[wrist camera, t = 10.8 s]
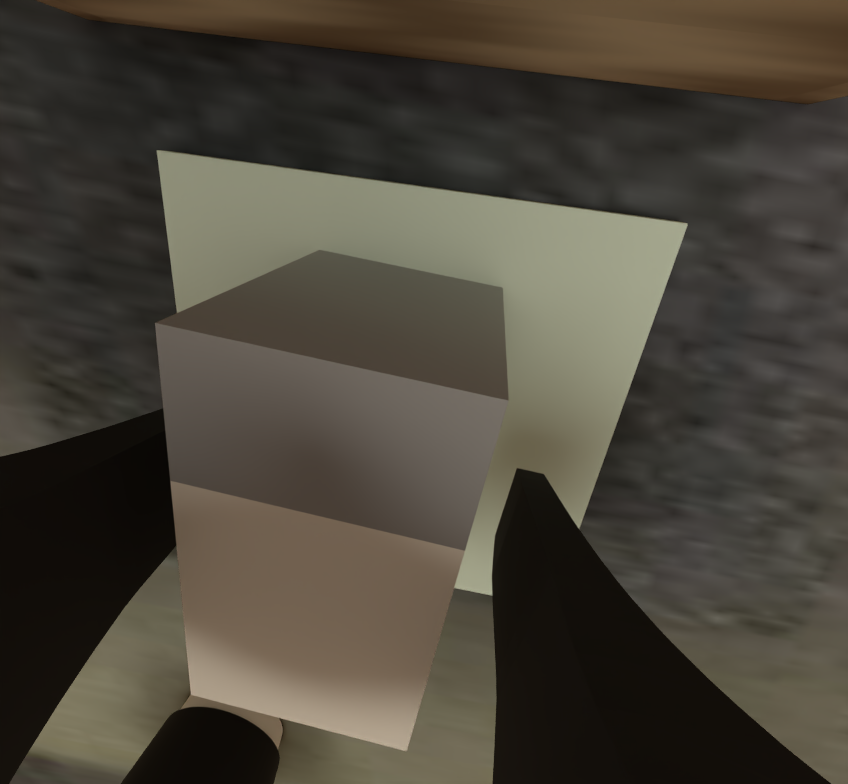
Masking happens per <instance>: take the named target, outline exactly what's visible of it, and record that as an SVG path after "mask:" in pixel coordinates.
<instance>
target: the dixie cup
mask: <svg viewBox="0 0 848 784" xmlns="http://www.w3.org/2000/svg"><path fill="white" fill-rule="evenodd" d="M282 733H283V727H282V724H281V721H280V719H279V718H278V717H274V716H270V715H266V714H262V713H259V712H255V711H251V710H247V709H243V708H240V707H236V706H232V705H228V704H224V703H220V702H217V701H213V700H209V699H205V698H201V697H198V696H194V695H190V696H189V698H188V699H187V700H186V702H185V703H184V705H183V706H182V707H181V709H180V710H178V711H176V712H174V713H173V714H172V715H170V716H169V718H168V719H167V720H166V722H165V723H164V725H163V726H162V727H161V729H160V730H159V731H158V733H157V734H156V736H155V737H154V738H153V740H152V741H151V743H150V744H149V745H148V747H147V748H146V749H145V751H144V752H143V754H142V755H141V756H140V758H139V759H138V761H137V762H136V763H135V765H134V766H133V768H132V769H131V770H130V772H129V773H128V774H127V776H126V777H125V779H124V780H123V781H122V783H121V784H273V783H274V780H275V776H276V772H277V769H278V765H279V759H280V757H279V752H278V748H279V744H280V741H281V737H282Z"/></svg>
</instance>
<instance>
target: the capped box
mask: <svg viewBox="0 0 848 784" xmlns="http://www.w3.org/2000/svg"><path fill="white" fill-rule="evenodd" d="M155 328H156V339H157V349H158V359H159V370H160V380H161V390H162V401H163V411H164V421H165V432H166V442H167V452H168V463H169V473H170V483H171V493H172V504H173V514H174V524H175V535H176V545H177V555H178V566H179V576H180V586H181V597H182V607H183V617H184V627H185V638H186V648H187V658H188V669H189V679H190V689H191V695H194V696H198V697H201V698H205V699H209V700H213V701H217V702H220V703H224V704H228V705H232V706H236V707H240V708H243V709H247V710H251V711H255V712H259V713H262V714H266V715H270V716H274V717H278V718H282V719H285V720H289V721H293V722H297V723H301V724H305V725H308V726H312V727H316V728H320V729H324V730H327V731H331V732H335V733H339V734H343V735H347V736H350V737H354V738H358V739H362V740H366V741H370V742H373V743H377V744H381V745H385V746H389V747H392V748H396V749H400V750H404V751H407V748H408V745H409V741H410V738H411V734H412V731H413V727H414V724H415V720H416V717H417V714H418V710H419V707H420V703H421V700H422V696H423V693H424V690H425V686H426V683H427V679H428V676H429V672H430V669H431V666H432V662H433V659H434V655H435V652H436V648H437V645H438V642H439V638H440V635H441V631H442V628H443V624H444V621H445V618H446V614H447V611H448V607H449V604H450V600H451V597H452V593H453V590H454V587H455V583H456V580H457V576H458V573H459V569H460V566H461V563H462V559H463V556H464V552H465V549H466V545H467V542H468V539H469V535H470V532H471V528H472V525H473V521H474V518H475V515H476V511H477V508H478V504H479V501H480V497H481V494H482V491H483V487H484V484H485V480H486V477H487V473H488V470H489V467H490V463H491V460H492V456H493V453H494V449H495V446H496V442H497V439H498V436H499V432H500V429H501V425H502V422H503V418H504V415H505V412H506V408H507V405H508V401H509V397H508V378H507V359H506V340H505V321H504V302H503V288H502V287H497V286H492V285H487V284H483V283H478V282H473V281H468V280H463V279H458V278H454V277H449V276H444V275H439V274H434V273H430V272H425V271H420V270H415V269H410V268H405V267H401V266H396V265H391V264H386V263H381V262H376V261H372V260H367V259H362V258H357V257H352V256H348V255H343V254H338V253H333V252H328V251H323V250H318V251H315V252H313V253H311V254H309V255H306V256H304V257H302V258H300V259H297V260H295V261H293V262H291V263H288V264H286V265H284V266H282V267H279V268H277V269H275V270H273V271H270V272H268V273H266V274H264V275H262V276H259V277H257V278H255V279H253V280H250V281H248V282H246V283H244V284H241V285H239V286H237V287H235V288H232V289H230V290H228V291H226V292H223V293H221V294H219V295H217V296H214V297H212V298H210V299H208V300H205V301H203V302H201V303H199V304H196V305H194V306H192V307H190V308H187V309H185V310H183V311H181V312H178V313H176V314H174V315H172V316H169V317H167V318H165V319H163V320H160V321H158V322H156V323H155Z"/></svg>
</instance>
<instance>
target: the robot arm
mask: <svg viewBox="0 0 848 784" xmlns="http://www.w3.org/2000/svg"><path fill="white" fill-rule="evenodd" d="M175 546H176V535H175V524H174V514H173V504H172V493H171V483H170V473H169V463H168V452H167V442H166V432H165V421H164V411H163V409H160V410H157V411H154V412H151V413H148V414H145V415H142V416H139V417H136V418H133V419H130V420H127V421H124V422H121V423H118V424H115V425H112V426H109V427H106V428H103V429H100V430H96V431H93V432H90V433H86V434H83V435H80V436H76V437H73V438H70V439H66V440H63V441H60V442H56V443H53V444H50V445H46V446H42V447H38V448H35V449H31V450H27V451H23V452H19V453H15V454H10V455H6V456H2V457H0V784H9V783H10V781H11V779H12V778H13V776H14V774H15V773H16V771H17V769H18V768H19V766H20V764H21V763H22V761H23V759H24V758H25V756H26V755H27V753H28V752H29V750H30V748H31V747H32V745H33V744H34V742H35V740H36V739H37V737H38V736H39V734H40V732H41V731H42V729H43V728H44V726H45V724H46V723H47V721H48V720H49V718H50V716H51V715H52V713H53V712H54V710H55V709H56V707H57V705H58V704H59V702H60V701H61V699H62V698H63V696H64V695H65V693H66V692H67V690H68V689H69V687H70V686H71V684H72V683H73V681H74V680H75V678H76V677H77V675H78V674H79V672H80V671H81V669H82V668H83V666H84V665H85V663H86V662H87V660H88V659H89V657H90V656H91V654H92V653H93V651H94V650H95V648H96V647H97V646H98V644H99V643H100V641H101V640H102V638H103V637H104V636H105V634H106V633H107V631H108V630H109V628H110V627H111V626H112V624H113V623H114V621H115V620H116V619H117V617H118V616H119V614H120V613H121V611H122V610H123V609H124V607H125V606H126V605H127V604H128V602H129V601H130V600H131V598H132V597H133V596H134V595H135V593H136V592H137V591H138V590H139V588H140V587H141V586H142V585H143V584H144V583H145V581H146V580H147V579H148V578H149V577H150V576H151V574H152V573H153V572H154V571H155V570H156V569H157V567H158V566H159V565H160V564H161V563H162V562H163V560H164V559H165V558H166V557H167V556H168V555H169V553H170V552H171V551H172V550H173V549H174V548H175ZM492 596H493V618H494V639H495V660H496V694H497V704H496V726H495V749H494V768H493V784H831V783H829V782H828V781H827V780H826V779H824V778H823V777H822V776H821V775H819V774H818V773H817V772H816V771H814V770H813V769H812V768H811V767H809V766H808V765H807V764H806V763H804V762H803V761H802V760H800V759H799V758H798V757H797V756H795V755H794V754H793V753H792V752H791V751H789V750H788V749H787V748H786V747H785V746H783V745H782V744H781V743H780V742H779V741H778V740H776V739H775V738H774V737H773V736H772V735H771V734H769V733H768V732H767V731H766V730H765V729H764V728H763V727H761V726H760V725H759V724H758V723H757V722H756V721H754V720H753V719H752V718H751V717H750V716H749V715H748V714H746V713H745V712H744V711H743V710H742V709H741V708H740V707H738V706H737V705H736V704H735V703H734V702H733V701H732V700H731V699H730V698H729V697H728V696H726V695H725V694H724V693H723V692H722V691H721V690H720V689H719V688H718V687H717V686H716V685H714V684H713V683H712V682H711V681H710V680H709V679H708V678H707V677H706V676H705V675H704V674H703V673H702V672H701V671H700V670H699V669H698V668H697V667H696V666H695V665H694V664H693V663H692V662H691V661H690V660H689V659H688V658H687V657H686V656H685V655H684V654H683V653H682V652H681V651H680V650H679V649H678V648H677V647H676V646H675V645H674V644H673V643H672V642H671V641H670V640H669V639H668V638H667V637H666V636H665V635H664V634H663V633H662V632H661V631H660V630H659V629H658V628H657V626H656V625H655V624H654V623H653V622H652V621H651V620H650V619H649V617H648V616H647V615H646V614H645V613H644V612H643V611H642V610H641V609H640V607H639V606H638V605H637V604H636V603H635V602H634V601H633V600H632V598H631V597H630V596H629V595H628V594H627V592H626V591H625V590H624V589H623V588H622V586H621V585H620V584H619V583H618V581H617V580H616V579H615V577H614V576H613V575H612V574H611V572H610V571H609V570H608V568H607V567H606V566H605V565H604V563H603V562H602V561H601V559H600V558H599V557H598V555H597V554H596V553H595V551H594V550H593V548H592V547H591V546H590V544H589V543H588V541H587V540H586V539H585V537H584V536H583V534H582V533H581V531H580V530H579V528H578V527H577V525H576V524H575V522H574V521H573V519H572V518H571V516H570V515H569V513H568V512H567V510H566V508H565V507H564V505H563V504H562V502H561V500H560V499H559V497H558V496H557V494H556V492H555V491H554V489H553V488H552V486H551V484H550V483H549V481H548V480H547V478H546V477H545V475H544V474H542V473H537V472H533V471H528V470H524V469H520V468H517V469H516V472H515V475H514V478H513V481H512V484H511V488H510V491H509V494H508V497H507V500H506V503H505V506H504V509H503V512H502V515H501V518H500V521H499V524H498V528H497V531H496V534H495V540H494V552H493V566H492Z"/></svg>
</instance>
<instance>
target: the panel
mask: <svg viewBox="0 0 848 784" xmlns="http://www.w3.org/2000/svg"><path fill="white" fill-rule="evenodd" d="M157 156H158V164H159V172H160V180H161V189H162V197H163V205H164V213H165V221H166V229H167V237H168V245H169V253H170V261H171V269H172V277H173V285H174V293H175V301H176V309H177V313H178V312H181V311H183V310H185V309H187V308H190V307H192V306H194V305H196V304H199V303H201V302H203V301H205V300H208V299H210V298H212V297H214V296H217V295H219V294H221V293H223V292H226V291H228V290H230V289H232V288H235V287H237V286H239V285H241V284H244V283H246V282H248V281H250V280H253V279H255V278H257V277H259V276H262V275H264V274H266V273H268V272H270V271H273V270H275V269H277V268H279V267H282V266H284V265H286V264H288V263H291V262H293V261H295V260H297V259H300V258H302V257H304V256H306V255H309V254H311V253H313V252H315V251H318V250H323V251H328V252H333V253H338V254H343V255H348V256H352V257H357V258H362V259H367V260H372V261H376V262H381V263H386V264H391V265H396V266H401V267H405V268H410V269H415V270H420V271H425V272H430V273H434V274H439V275H444V276H449V277H454V278H458V279H463V280H468V281H473V282H478V283H483V284H487V285H492V286H497V287H502V288H503V302H504V321H505V340H506V359H507V378H508V397H509V401H508V405H507V408H506V412H505V415H504V418H503V422H502V425H501V429H500V432H499V436H498V439H497V442H496V446H495V449H494V453H493V456H492V460H491V463H490V467H489V470H488V473H487V477H486V480H485V484H484V487H483V491H482V494H481V497H480V501H479V504H478V508H477V511H476V515H475V518H474V521H473V525H472V528H471V532H470V535H469V539H468V542H467V545H466V549H465V552H464V556H463V559H462V563H461V566H460V569H459V573H458V576H457V580H456V583H455V587H454V588H458V589H462V590H467V591H472V592H477V593H482V594H487V595H492V566H493V552H494V540H495V534H496V531H497V528H498V524H499V521H500V518H501V515H502V512H503V509H504V506H505V503H506V500H507V497H508V494H509V491H510V488H511V484H512V481H513V478H514V475H515V472H516V469H517V468H520V469H524V470H528V471H533V472H537V473H542V474H544V475H545V477H546V478H547V480H548V481H549V483H550V484H551V486H552V488H553V489H554V491H555V492H556V494H557V496H558V497H559V499H560V500H561V502H562V504H563V505H564V507H565V508H566V510H567V512H568V513H569V515H570V516H571V518H572V519H573V521H574V522H575V524H576V525H577V527H578V528H580V525H581V522H582V520H583V517H584V514H585V511H586V508H587V506H588V503H589V500H590V497H591V494H592V492H593V489H594V486H595V483H596V480H597V478H598V475H599V472H600V469H601V466H602V464H603V461H604V458H605V455H606V452H607V450H608V447H609V444H610V441H611V438H612V436H613V433H614V430H615V427H616V424H617V421H618V419H619V416H620V413H621V410H622V407H623V405H624V402H625V399H626V396H627V393H628V391H629V388H630V385H631V382H632V379H633V377H634V374H635V371H636V368H637V365H638V363H639V360H640V357H641V354H642V351H643V349H644V346H645V343H646V340H647V337H648V335H649V332H650V329H651V326H652V323H653V321H654V318H655V315H656V312H657V309H658V306H659V304H660V301H661V298H662V295H663V292H664V290H665V287H666V284H667V281H668V278H669V276H670V273H671V270H672V267H673V264H674V262H675V259H676V256H677V253H678V250H679V248H680V245H681V242H682V239H683V236H684V234H685V231H686V228H687V225H688V224H687V223H684V222H680V221H673V220H666V219H658V218H651V217H644V216H637V215H630V214H622V213H615V212H608V211H601V210H593V209H586V208H579V207H572V206H564V205H557V204H550V203H543V202H535V201H528V200H521V199H514V198H506V197H499V196H492V195H485V194H478V193H470V192H463V191H456V190H449V189H441V188H434V187H427V186H420V185H412V184H405V183H398V182H391V181H383V180H376V179H369V178H362V177H355V176H347V175H340V174H333V173H326V172H318V171H311V170H304V169H297V168H289V167H282V166H275V165H268V164H260V163H253V162H246V161H239V160H231V159H224V158H217V157H210V156H203V155H195V154H188V153H181V152H174V151H161V150H157Z"/></svg>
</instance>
